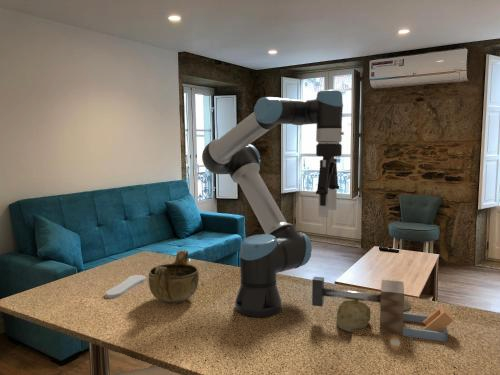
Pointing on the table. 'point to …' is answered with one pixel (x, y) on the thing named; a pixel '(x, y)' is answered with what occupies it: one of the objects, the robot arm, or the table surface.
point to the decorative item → (353, 315)
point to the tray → (422, 333)
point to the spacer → (438, 320)
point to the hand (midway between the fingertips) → (327, 213)
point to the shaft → (338, 293)
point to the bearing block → (392, 307)
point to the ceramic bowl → (174, 280)
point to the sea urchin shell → (405, 303)
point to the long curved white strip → (125, 286)
